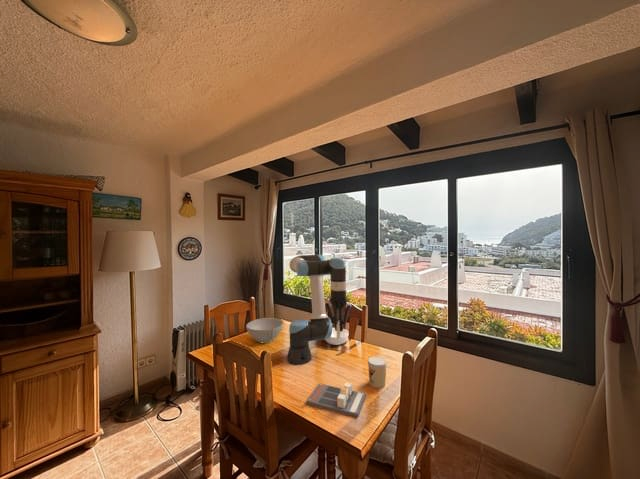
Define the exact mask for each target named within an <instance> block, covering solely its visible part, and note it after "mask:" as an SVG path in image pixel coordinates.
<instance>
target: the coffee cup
mask: <svg viewBox="0 0 640 479" xmlns="http://www.w3.org/2000/svg"><path fill="white" fill-rule="evenodd" d="M367 364H368V366H367V369H368V375H369V377H368V379H369V385H370V386H371V387H372V388H375V389H383V388H384V387H386V380H387V379H386V378H387V361H386V359H384V357H380V356H372V357H369V359H368V360H367Z"/></svg>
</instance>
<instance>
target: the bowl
mask: <svg viewBox="0 0 640 479" xmlns="http://www.w3.org/2000/svg"><path fill="white" fill-rule="evenodd" d="M349 335H350V334H349V330H347V329H346V328H343V331H341V338H340V339H339V338H337V331H335V327H332V335H331V337H330V338H329V339H324V340H325V342H327V344H329V345H333V346H340V345H343V344H344V343H346V341H347V339H348V338H349Z"/></svg>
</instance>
